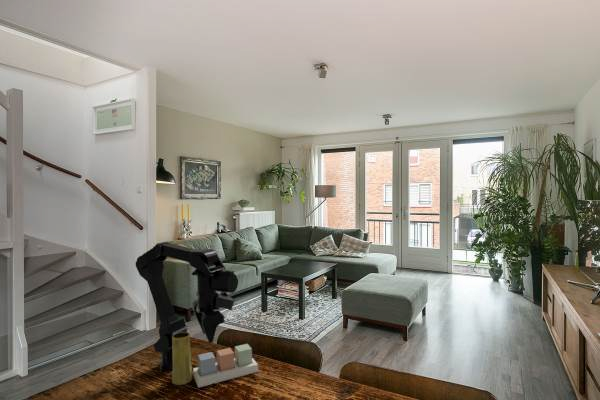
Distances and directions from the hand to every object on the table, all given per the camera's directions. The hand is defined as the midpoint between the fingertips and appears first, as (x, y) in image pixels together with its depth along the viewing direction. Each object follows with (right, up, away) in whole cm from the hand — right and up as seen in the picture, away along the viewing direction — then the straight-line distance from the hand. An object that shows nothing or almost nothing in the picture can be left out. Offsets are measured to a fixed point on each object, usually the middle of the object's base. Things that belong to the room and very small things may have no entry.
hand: (208, 337), depth 112 cm
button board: (+6, -12, +1) cm, 13 cm away
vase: (-7, -12, -3) cm, 15 cm away
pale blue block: (0, -10, -2) cm, 10 cm away
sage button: (+11, -10, +3) cm, 15 cm away
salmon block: (+6, -10, +1) cm, 11 cm away
